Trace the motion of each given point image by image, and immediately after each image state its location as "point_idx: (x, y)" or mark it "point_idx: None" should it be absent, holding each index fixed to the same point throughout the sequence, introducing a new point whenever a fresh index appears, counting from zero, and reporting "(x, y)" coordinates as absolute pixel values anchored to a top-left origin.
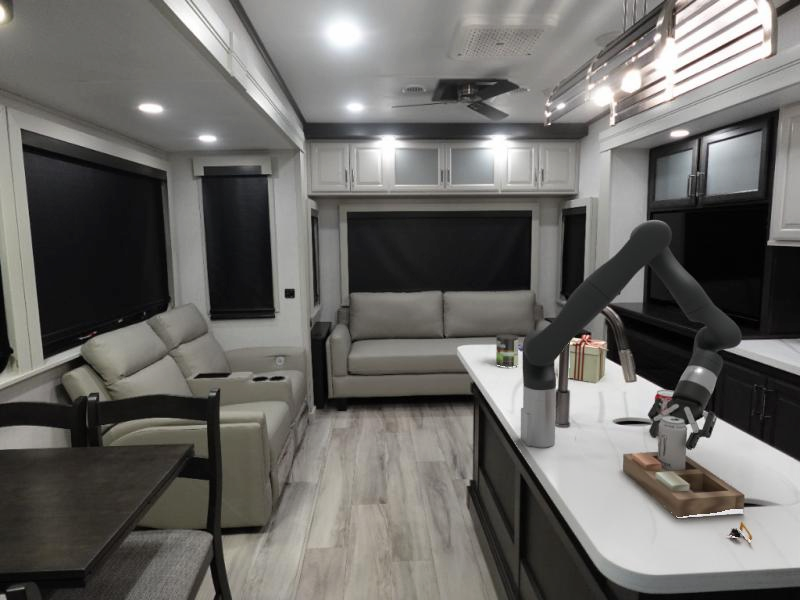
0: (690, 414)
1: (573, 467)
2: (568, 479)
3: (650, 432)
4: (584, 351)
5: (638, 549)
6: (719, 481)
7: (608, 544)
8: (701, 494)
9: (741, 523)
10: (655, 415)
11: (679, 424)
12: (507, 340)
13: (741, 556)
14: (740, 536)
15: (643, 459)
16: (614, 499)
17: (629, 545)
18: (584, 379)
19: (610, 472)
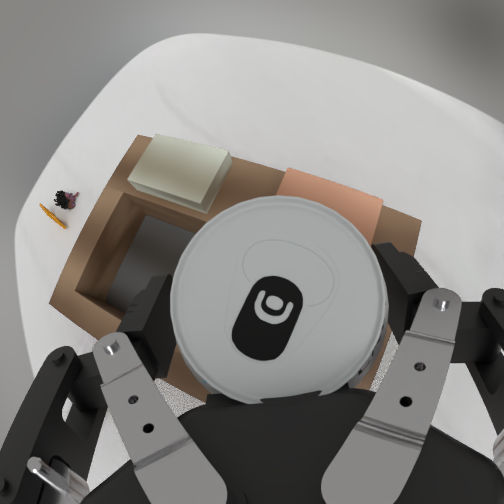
0: (141, 443)
1: (451, 146)
2: (401, 98)
3: (390, 243)
4: None
5: (163, 63)
6: (108, 327)
7: (197, 41)
8: (109, 202)
9: (50, 216)
10: (490, 373)
11: (187, 265)
12: None
13: (57, 173)
14: (56, 199)
15: (322, 192)
16: (286, 110)
17: (176, 58)
18: None
19: (404, 201)
